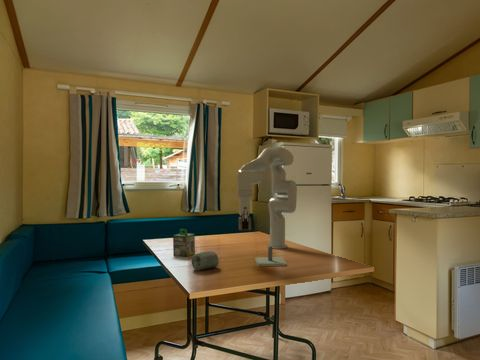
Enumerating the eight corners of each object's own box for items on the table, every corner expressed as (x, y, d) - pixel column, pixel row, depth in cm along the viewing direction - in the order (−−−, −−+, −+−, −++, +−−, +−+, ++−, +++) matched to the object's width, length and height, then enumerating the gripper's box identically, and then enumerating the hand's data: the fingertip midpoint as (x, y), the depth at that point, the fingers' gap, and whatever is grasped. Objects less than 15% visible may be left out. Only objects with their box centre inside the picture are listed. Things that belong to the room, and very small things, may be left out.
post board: (255, 259, 182) (255, 244, 182) (281, 259, 183) (281, 244, 183) (258, 266, 168) (258, 249, 168) (286, 265, 169) (286, 249, 169)
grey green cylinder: (196, 266, 154) (197, 245, 159) (187, 272, 161) (188, 251, 166) (222, 270, 161) (222, 249, 166) (213, 275, 168) (213, 255, 173)
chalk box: (195, 253, 197) (195, 228, 197) (186, 257, 188) (186, 230, 188) (182, 252, 201) (182, 227, 201) (172, 255, 192) (172, 229, 192)
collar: (238, 228, 183) (238, 217, 183) (249, 228, 183) (249, 217, 183) (239, 230, 177) (239, 218, 177) (250, 230, 177) (250, 218, 177)
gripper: (237, 193, 188) (237, 225, 189) (238, 194, 171) (238, 230, 171) (250, 193, 189) (250, 225, 189) (253, 194, 172) (253, 230, 172)
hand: (244, 227), depth 180 cm, fingers closed on collar, 6 cm apart
